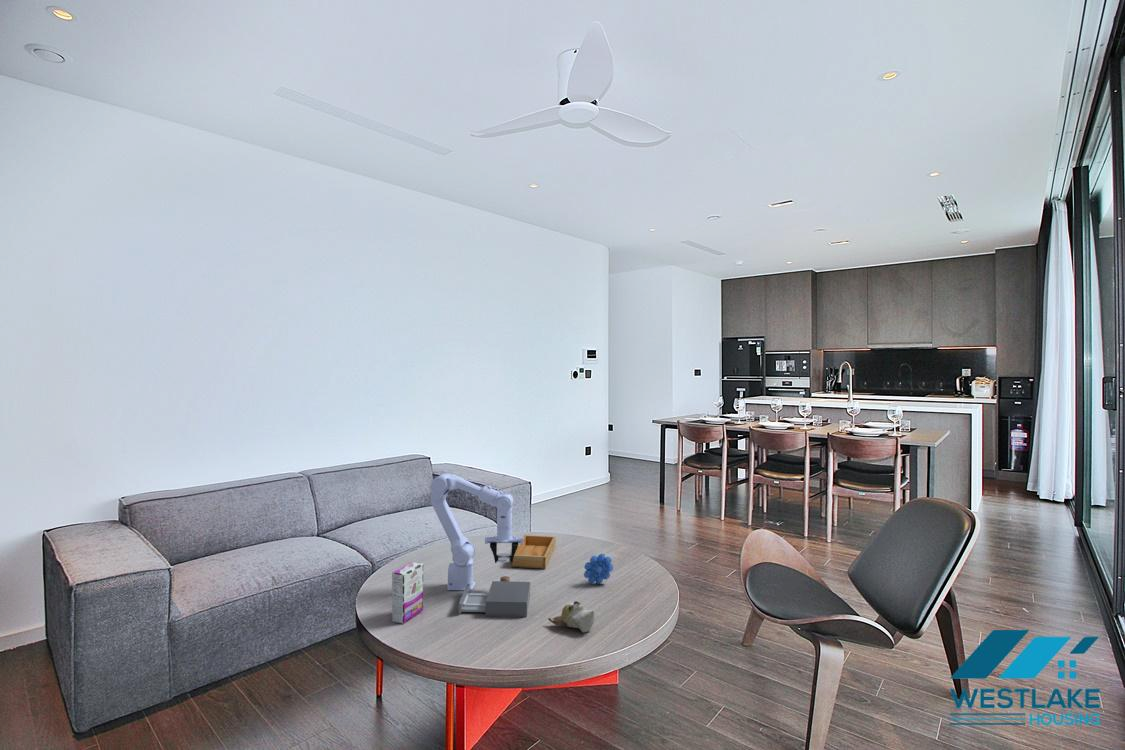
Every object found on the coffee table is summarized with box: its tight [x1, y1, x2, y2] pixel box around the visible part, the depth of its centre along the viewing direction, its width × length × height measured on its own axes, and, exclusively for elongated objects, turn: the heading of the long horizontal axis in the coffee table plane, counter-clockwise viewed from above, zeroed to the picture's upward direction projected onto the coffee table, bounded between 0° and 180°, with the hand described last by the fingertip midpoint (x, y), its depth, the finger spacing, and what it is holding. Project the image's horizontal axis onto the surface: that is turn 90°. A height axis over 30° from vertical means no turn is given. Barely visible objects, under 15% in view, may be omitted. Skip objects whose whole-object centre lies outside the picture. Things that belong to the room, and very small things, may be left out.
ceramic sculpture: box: [547, 600, 595, 633], centre depth 178 cm, size 11×9×15 cm
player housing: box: [484, 580, 531, 618], centre depth 193 cm, size 14×18×5 cm
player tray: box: [457, 584, 489, 614], centre depth 193 cm, size 13×17×3 cm
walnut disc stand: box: [499, 575, 511, 582], centre depth 208 cm, size 6×6×4 cm
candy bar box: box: [391, 561, 424, 625], centre depth 183 cm, size 11×5×16 cm, turn 160°
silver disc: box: [497, 552, 512, 564], centre depth 207 cm, size 5×5×2 cm
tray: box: [509, 534, 557, 570], centre depth 245 cm, size 31×15×6 cm, turn 173°
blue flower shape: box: [583, 553, 614, 585], centre depth 215 cm, size 12×7×12 cm, turn 94°
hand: (503, 562), depth 207 cm, fingers closed on silver disc, 5 cm apart
